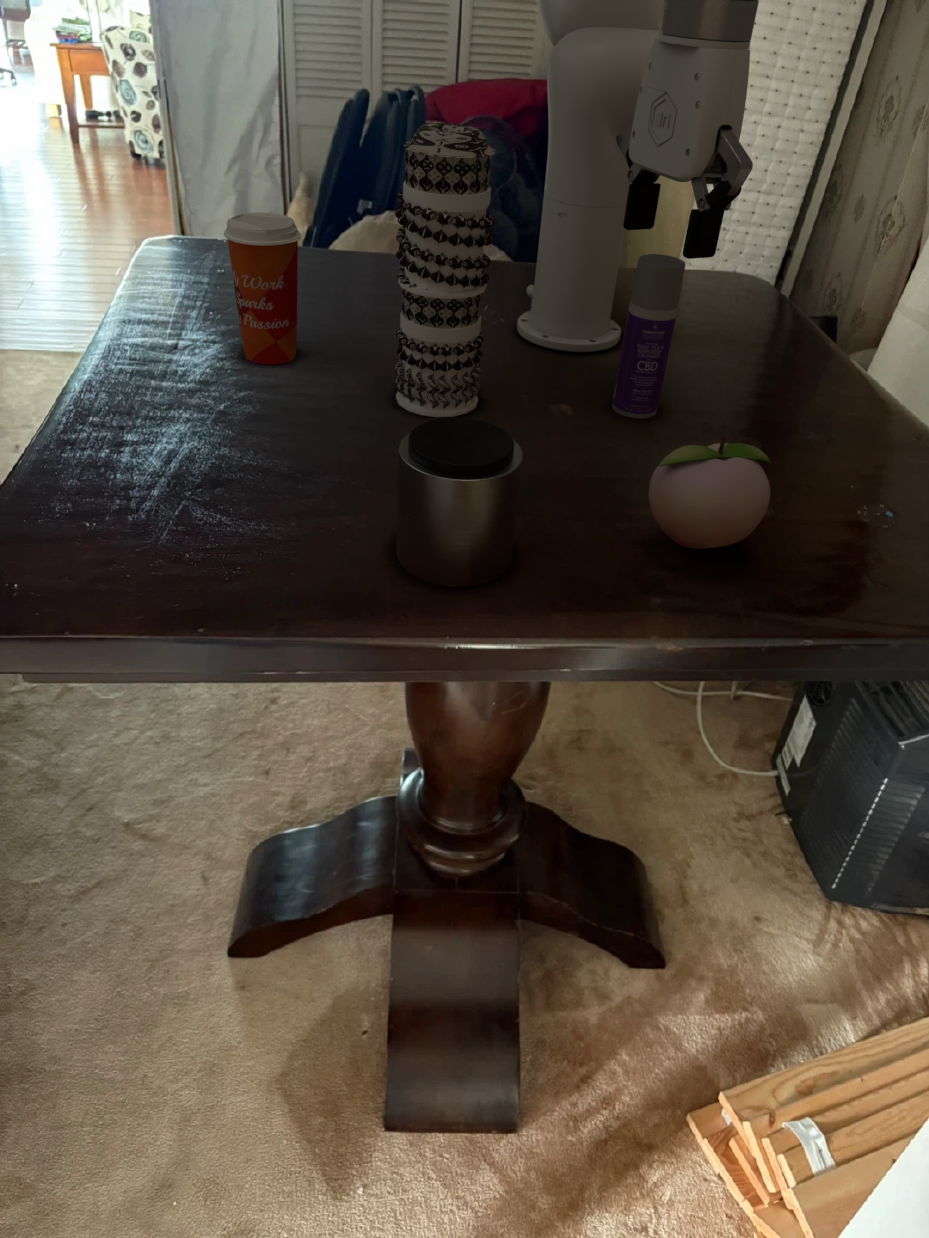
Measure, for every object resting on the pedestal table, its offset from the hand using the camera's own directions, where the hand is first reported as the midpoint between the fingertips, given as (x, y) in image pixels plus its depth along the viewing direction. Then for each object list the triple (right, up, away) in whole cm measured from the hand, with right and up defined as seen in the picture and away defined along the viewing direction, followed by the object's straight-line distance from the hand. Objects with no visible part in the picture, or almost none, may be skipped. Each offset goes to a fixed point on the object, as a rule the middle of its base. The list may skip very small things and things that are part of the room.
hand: (666, 242), depth 85 cm
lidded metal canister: (-20, -30, -14) cm, 38 cm away
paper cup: (-40, -6, +16) cm, 44 cm away
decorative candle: (-22, -13, +9) cm, 27 cm away
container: (-1, -13, +10) cm, 17 cm away
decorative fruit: (0, -30, -11) cm, 32 cm away
